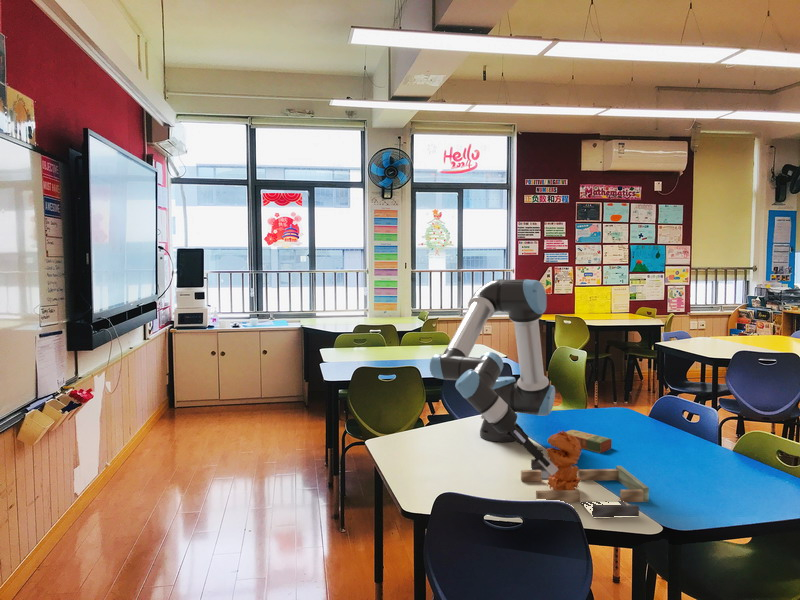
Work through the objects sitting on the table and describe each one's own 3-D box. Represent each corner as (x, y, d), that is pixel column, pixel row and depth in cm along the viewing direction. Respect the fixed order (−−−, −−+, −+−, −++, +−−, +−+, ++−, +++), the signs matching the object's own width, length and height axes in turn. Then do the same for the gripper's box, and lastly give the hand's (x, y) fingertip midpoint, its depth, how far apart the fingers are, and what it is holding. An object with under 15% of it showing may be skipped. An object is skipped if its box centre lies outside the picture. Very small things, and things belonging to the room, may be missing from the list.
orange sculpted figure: (536, 484, 170) (538, 425, 169) (569, 482, 172) (571, 424, 171) (554, 499, 159) (556, 436, 158) (589, 496, 161) (591, 434, 160)
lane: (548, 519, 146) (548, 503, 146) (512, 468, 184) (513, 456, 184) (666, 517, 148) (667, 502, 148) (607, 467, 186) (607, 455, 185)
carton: (572, 439, 218) (572, 428, 218) (612, 449, 206) (612, 437, 206) (560, 443, 212) (561, 432, 212) (600, 454, 200) (601, 442, 200)
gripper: (485, 418, 169) (539, 473, 171) (494, 429, 156) (552, 489, 158) (503, 400, 169) (557, 455, 171) (513, 411, 156) (571, 470, 158)
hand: (554, 471), depth 164 cm, fingers closed
